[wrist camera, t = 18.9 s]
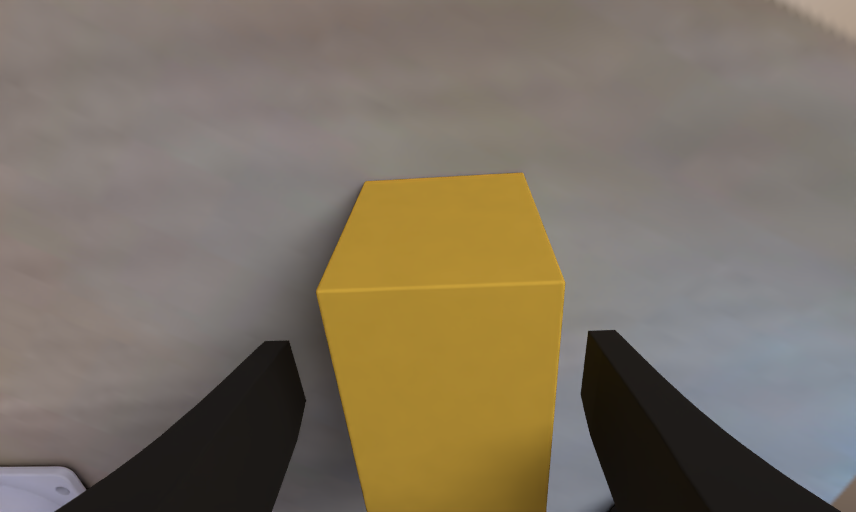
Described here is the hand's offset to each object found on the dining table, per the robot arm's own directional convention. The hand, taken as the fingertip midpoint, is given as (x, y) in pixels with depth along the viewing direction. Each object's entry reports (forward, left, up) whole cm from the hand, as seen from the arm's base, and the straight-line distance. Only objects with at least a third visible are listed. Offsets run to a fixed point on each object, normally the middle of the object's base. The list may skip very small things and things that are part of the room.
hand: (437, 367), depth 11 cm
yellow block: (0, 0, -3) cm, 3 cm away
